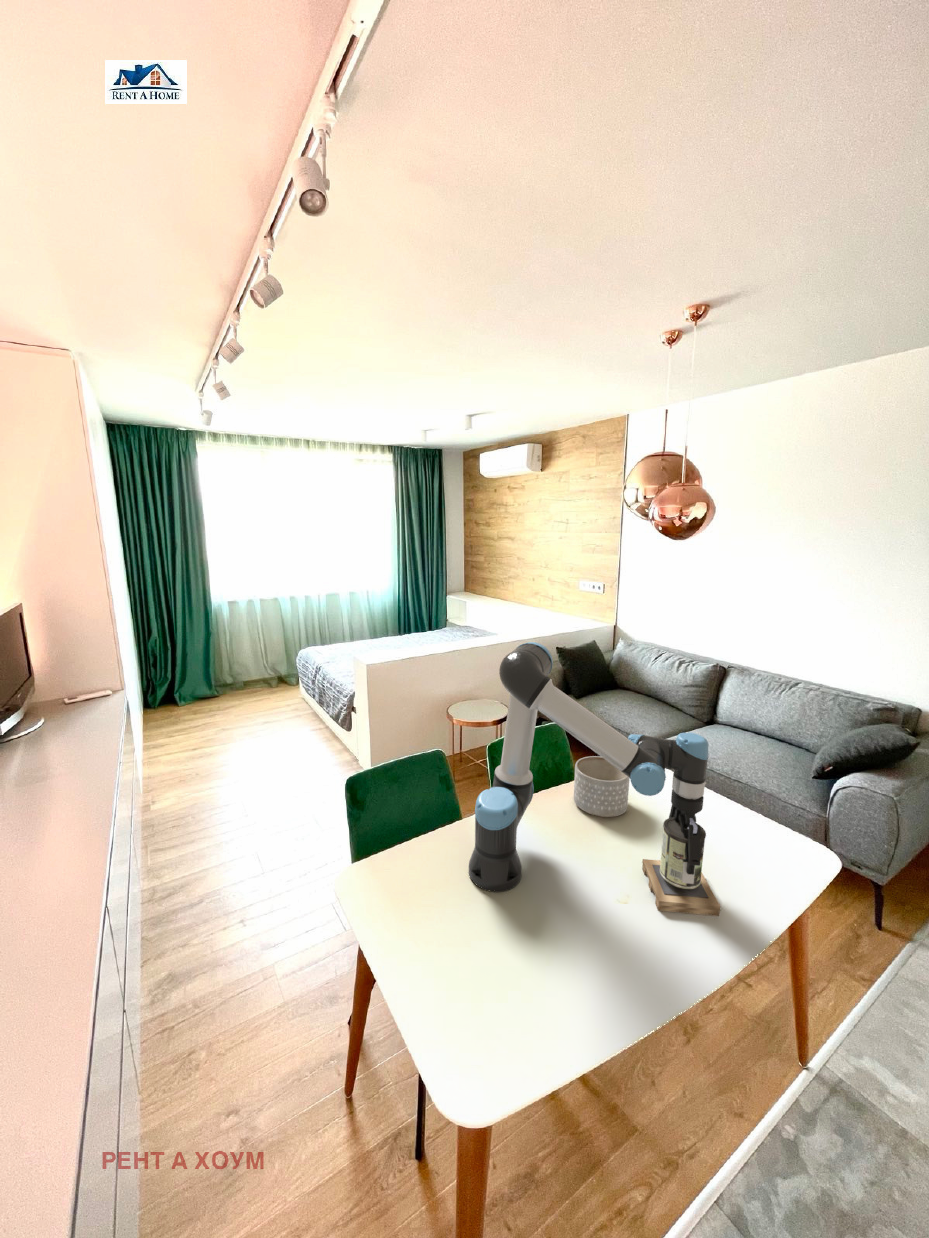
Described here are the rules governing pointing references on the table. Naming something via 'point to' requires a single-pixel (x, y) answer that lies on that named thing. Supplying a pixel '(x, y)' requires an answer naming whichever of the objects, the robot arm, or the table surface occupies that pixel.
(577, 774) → the planter
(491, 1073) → the table surface
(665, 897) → the dock
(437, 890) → the table surface
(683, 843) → the coffee can
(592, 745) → the robot arm
